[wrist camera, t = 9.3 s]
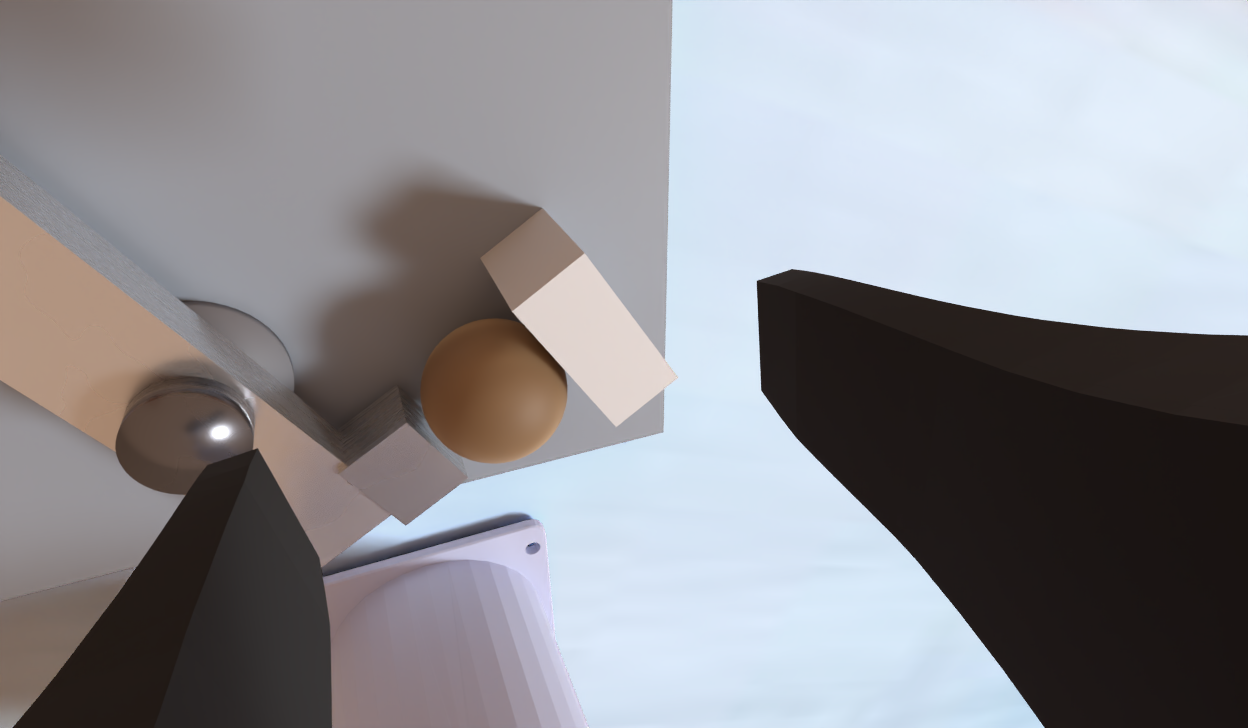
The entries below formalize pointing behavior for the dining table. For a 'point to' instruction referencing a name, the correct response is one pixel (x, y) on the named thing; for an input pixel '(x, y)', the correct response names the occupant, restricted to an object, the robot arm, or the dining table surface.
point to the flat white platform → (343, 211)
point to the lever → (190, 383)
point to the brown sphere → (493, 391)
